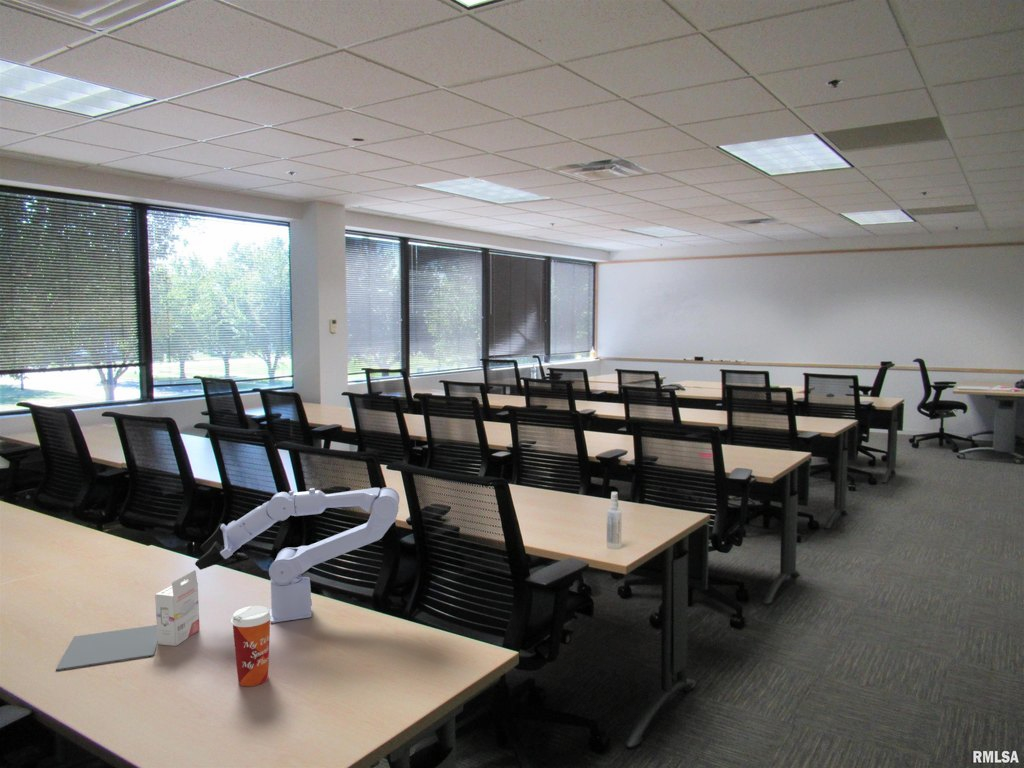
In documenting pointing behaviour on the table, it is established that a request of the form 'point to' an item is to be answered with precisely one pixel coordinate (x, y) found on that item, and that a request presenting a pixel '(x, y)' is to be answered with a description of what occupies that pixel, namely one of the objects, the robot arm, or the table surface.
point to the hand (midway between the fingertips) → (200, 558)
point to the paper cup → (252, 644)
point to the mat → (110, 647)
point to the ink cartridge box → (178, 611)
